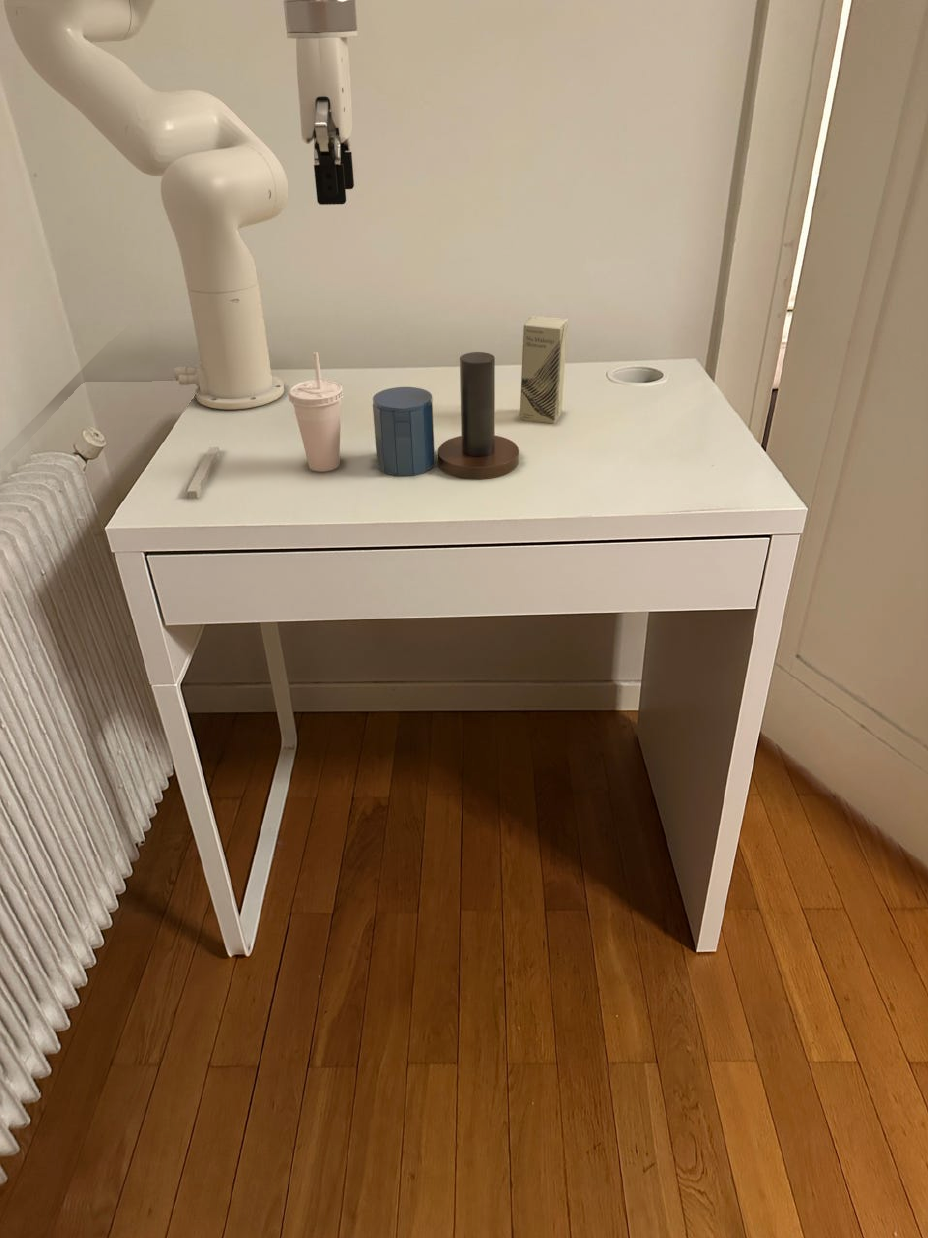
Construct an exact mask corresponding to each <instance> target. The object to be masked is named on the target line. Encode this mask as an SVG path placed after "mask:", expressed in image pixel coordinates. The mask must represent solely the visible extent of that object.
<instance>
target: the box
mask: <svg viewBox="0 0 928 1238" xmlns="http://www.w3.org/2000/svg"><path fill="white" fill-rule="evenodd" d="M568 325H569V320H568V319H566V318H558V317H549V316H537V315H536V316H535V315H531V316H530V317H529V318H528V319H527V320H526V321H525V322H524V324H523V328H522V329H523V330H522V349H521V350H522V351H521V353H522V354H521V376H520V400H519V419H520V420H522V421H523V420H524V421H532V422H537V423H539V422H540V423H544V424H545V423H547V424H555V422H557V420H558V419H559V418H560V416H561V414H562V409H563V395H564V394H563V393H564V382H565V381H564V380H565V366H566V352H567V340H568V338H567V337H568V328H569V327H568Z"/></svg>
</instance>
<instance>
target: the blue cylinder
mask: <svg viewBox="0 0 928 1238" xmlns="http://www.w3.org/2000/svg"><path fill="white" fill-rule="evenodd" d="M433 400H434V399H433V394H432V393H431V392H430V391H429V390H427V389H424V388H420V387H417V386H416V387H414V386H396V387H391V388H386V389H382V390H380V391H378V392H376V393H375V394H374V395H373V397H372V412H373V413H372V414H373V425H374V438H375V450H376V463H377V468H378V469H379V470H381V471H382V472H383V473H385V474H387V475H393V476H397V477H405V476H406V477H407V476H409V477H412V476H417V475H421V474H425V473H427V472H429V471H430V470H432V469H433V468H434V467H435V466H436V455H435V454H436V451H435V448H436V447H435V427H434V426H435V424H434V401H433Z"/></svg>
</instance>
